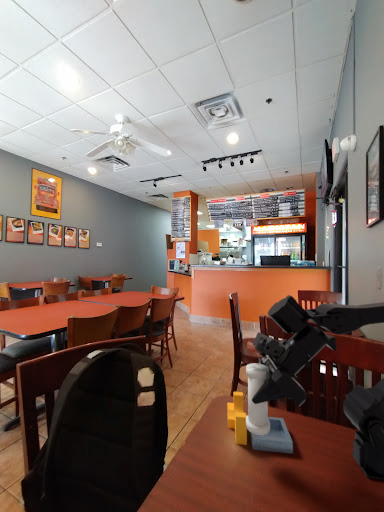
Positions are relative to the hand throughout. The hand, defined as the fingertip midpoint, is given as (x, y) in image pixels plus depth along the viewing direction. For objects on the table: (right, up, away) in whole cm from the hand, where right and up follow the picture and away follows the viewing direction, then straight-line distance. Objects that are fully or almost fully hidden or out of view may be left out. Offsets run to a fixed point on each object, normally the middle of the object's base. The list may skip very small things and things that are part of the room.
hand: (251, 396), depth 54 cm
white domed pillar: (+1, -7, 0) cm, 7 cm away
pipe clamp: (-2, -14, +10) cm, 17 cm away
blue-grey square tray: (+6, -14, +6) cm, 16 cm away
